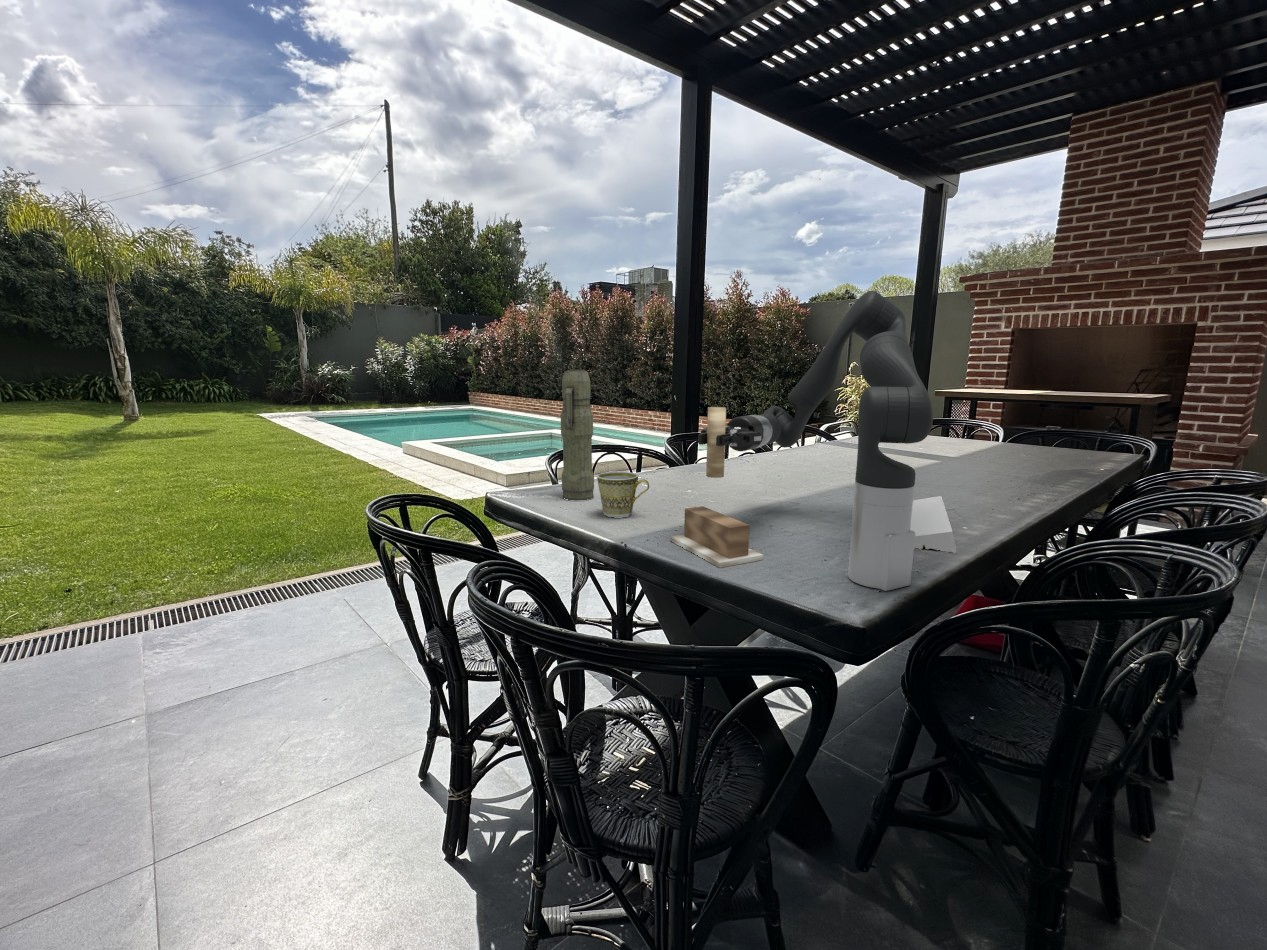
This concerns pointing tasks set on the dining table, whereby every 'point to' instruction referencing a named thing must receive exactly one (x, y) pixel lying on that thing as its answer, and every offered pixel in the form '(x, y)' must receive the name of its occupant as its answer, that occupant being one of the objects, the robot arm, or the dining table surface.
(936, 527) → the decorative molding
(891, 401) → the robot arm
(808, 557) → the dining table surface
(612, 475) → the ceramic cup
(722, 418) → the dowel
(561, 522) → the dining table surface
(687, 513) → the stand
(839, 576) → the dining table surface
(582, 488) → the thermos
